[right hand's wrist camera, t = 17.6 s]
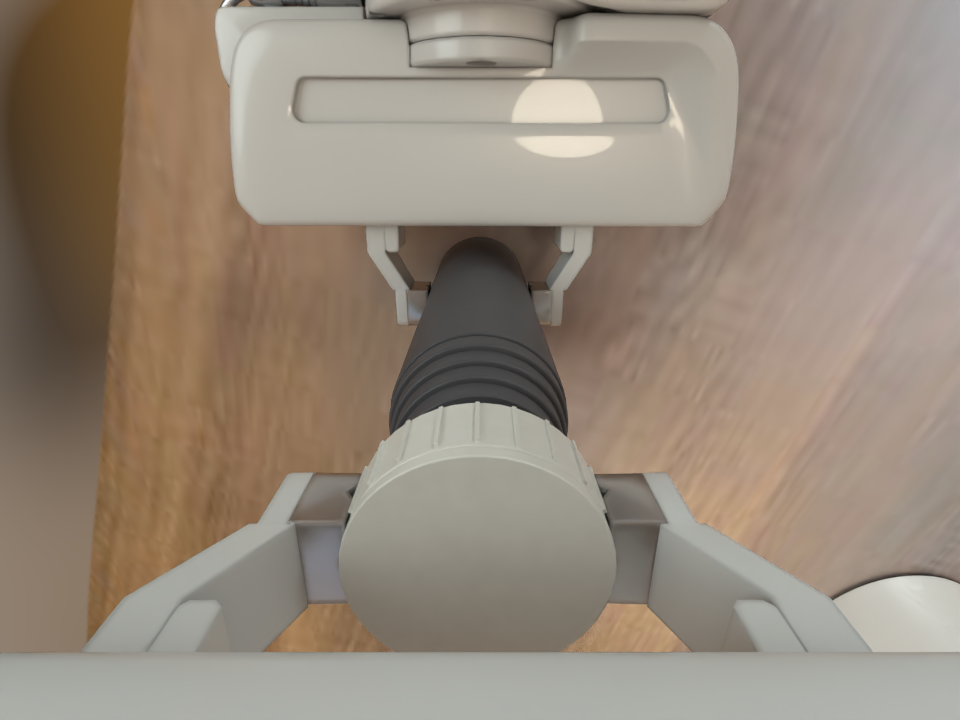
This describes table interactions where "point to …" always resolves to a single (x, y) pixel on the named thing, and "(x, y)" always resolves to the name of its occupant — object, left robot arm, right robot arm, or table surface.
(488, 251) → the bottle
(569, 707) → the right robot arm
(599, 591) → the cap
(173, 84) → the table surface
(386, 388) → the table surface
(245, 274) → the table surface
